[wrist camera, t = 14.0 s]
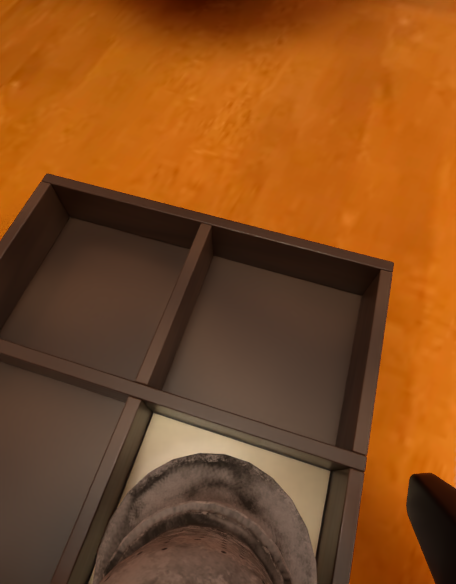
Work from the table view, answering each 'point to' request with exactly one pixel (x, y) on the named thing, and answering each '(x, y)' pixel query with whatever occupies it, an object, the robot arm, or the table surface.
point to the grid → (175, 368)
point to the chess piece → (206, 528)
